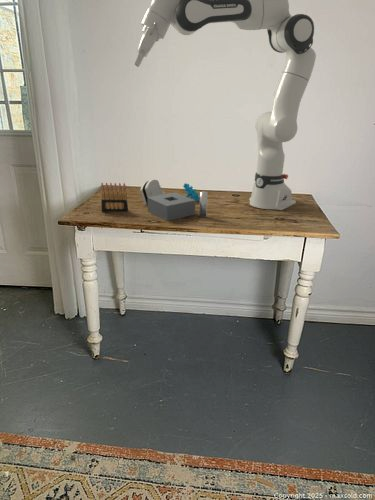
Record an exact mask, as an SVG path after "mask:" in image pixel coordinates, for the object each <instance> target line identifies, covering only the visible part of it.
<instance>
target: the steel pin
mask: <svg viewBox="0 0 375 500" xmlns="http://www.w3.org/2000/svg"><path fill="white" fill-rule="evenodd" d="M199 194H200V195H199V210H198V212H199V214H198V216H199V218H202V219H203V218H205V219H206V218H207V214H208V196H209V195H208V194H209V193H208V191H200V192H199Z"/></svg>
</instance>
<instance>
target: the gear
mask: <svg viewBox="0 0 375 500" xmlns="http://www.w3.org/2000/svg"><path fill="white" fill-rule="evenodd" d="M193 188H194V187H193V186H192V185H191V184H189V183H185V182H184V184H183V189H184V191H185V192H186V195H185V196H186V197H188V198H191V199H193V200H195V202H200V195H199V193H197V189H196V188H194V189H193Z"/></svg>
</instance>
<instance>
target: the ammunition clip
mask: <svg viewBox="0 0 375 500" xmlns="http://www.w3.org/2000/svg"><path fill="white" fill-rule="evenodd" d="M100 196H101V197H100V199H101V203H100V204H101V212H102V213H103V212H104V213H106V212H107V213H112V212H113V213H114V212H115V213H117V212H118V213H128V212H129V206H128V194H127V187H126V184H125V182H123V185H122V184H121V183H120V182H119V183H118V187H117V183H116V182H114V185H113V184H112V182H109V184H108V183H107V182H106V183H105V185H104V183H103V182H101V184H100Z"/></svg>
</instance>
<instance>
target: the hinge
mask: <svg viewBox="0 0 375 500" xmlns="http://www.w3.org/2000/svg"><path fill="white" fill-rule="evenodd" d="M139 191H140V194H141V197H142V200H143V204H144V206H148V201H147V197H153V196H158V195H163V194H166V192H165V191H163V190H162V187H161V185H160V182H159V181H158V179H150V180H147V181H145V182H144V183H143V184H142V185H141V186H140V190H139Z"/></svg>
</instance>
